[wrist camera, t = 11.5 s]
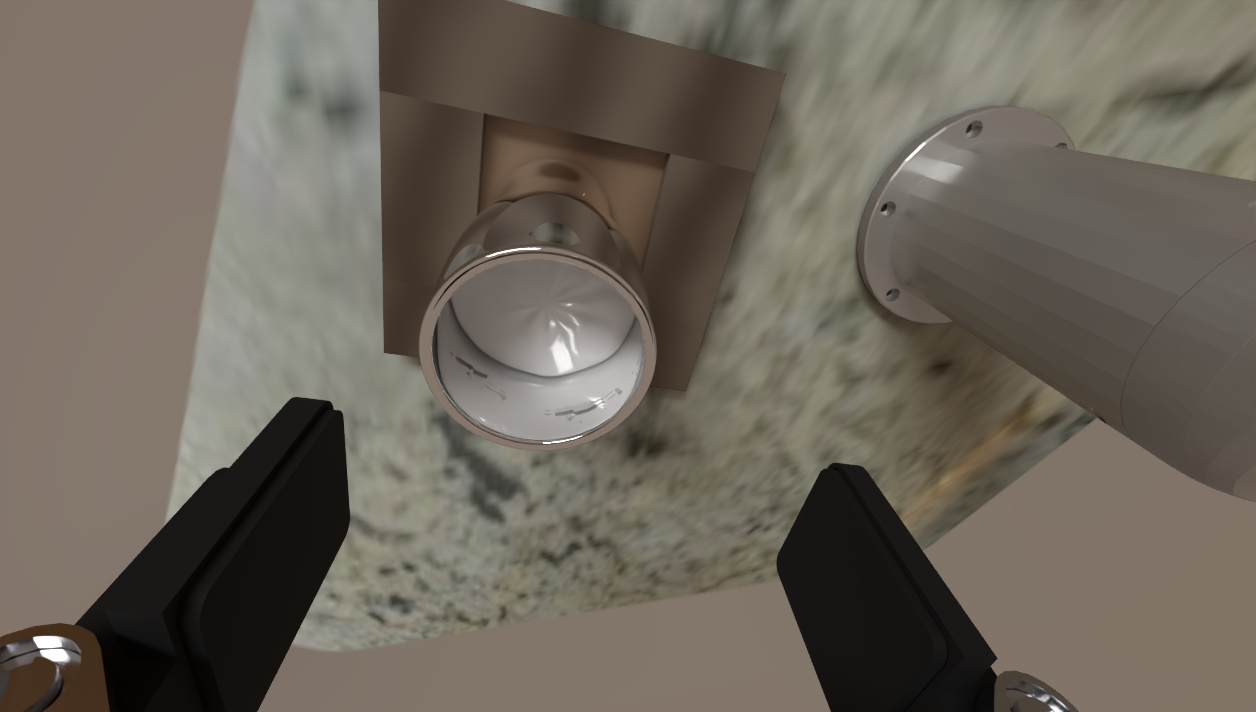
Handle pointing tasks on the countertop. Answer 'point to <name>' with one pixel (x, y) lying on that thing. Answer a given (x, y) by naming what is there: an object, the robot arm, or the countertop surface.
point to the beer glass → (540, 316)
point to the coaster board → (563, 148)
